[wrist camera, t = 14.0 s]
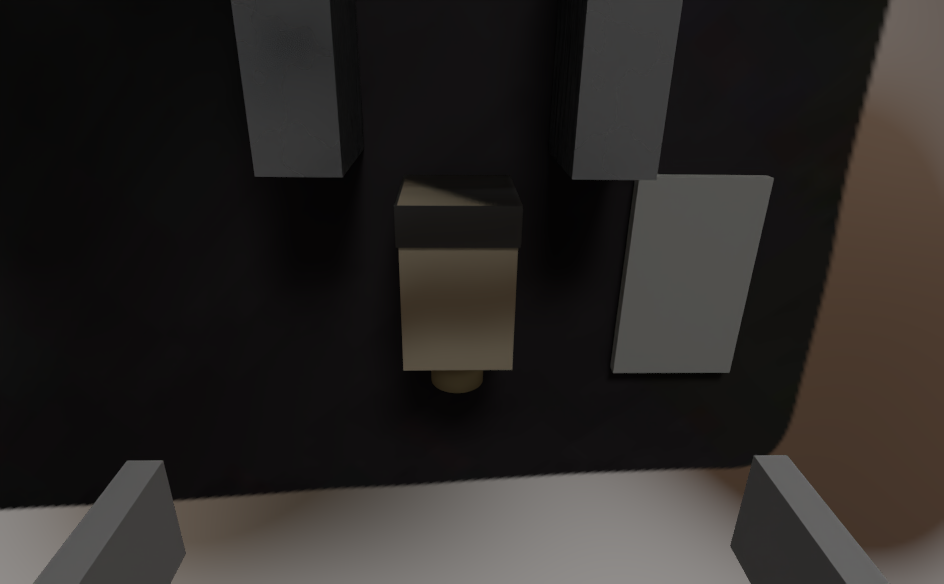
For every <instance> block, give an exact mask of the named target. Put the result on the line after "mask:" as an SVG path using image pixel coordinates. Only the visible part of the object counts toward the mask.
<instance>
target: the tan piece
mask: <svg viewBox="0 0 944 584" xmlns="http://www.w3.org/2000/svg"><path fill="white" fill-rule="evenodd" d="M522 217H523V205H522V203H521V201H520V198H519V196H518V193H517V191H516V189H515V186H514V184H513V181H512V179H511V177H510V175H404V177H403V180H402V183H401V186H400V189H399V192H398V195H397V198H396V201H395V204H394V222H395V246H396V248H399V272H400V297H401V321H402V346H403V371H406V370H431V379H432V383H433V385H434V386H435V387H437V388H438V389H440V390H442V391H445V392H450V393H464V392H469V391H472V390H474V389H476V388H478V387H479V386H480V385H481V383H482V381H483V370H512V361H513V340H514V320H515V299H516V278H517V258H518V248H521V237H522Z"/></svg>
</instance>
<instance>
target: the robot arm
mask: <svg viewBox="0 0 944 584" xmlns="http://www.w3.org/2000/svg"><path fill="white" fill-rule="evenodd" d="M730 546H731V548H732V550H733V552H734V553H735V555H736V557H737V559H738V561H739V563H740V565H741V566H742V568H743V570H744V572H745V574H746V576H747V577H748V579H749V581H750V583H751V584H890V583H889V582H888V581H887V579H886V578H885V577H884V576H883V574H882V573H881V572H880V570H879V569H878V568H877V567H876V565H875V564H874V563H873V562H872V561H871V559H870V558H869V557H868V556H867V554H866V553H865V552H864V550H863V549H862V548H861V547H860V545H859V544H858V543H857V542H856V541H855V539H854V538H853V537H852V536H851V534H850V533H849V532H848V531H847V529H846V528H845V527H844V526H843V524H842V523H841V522H840V521H839V519H838V518H837V517H836V516H835V514H834V513H833V512H832V511H831V509H830V508H829V507H828V506H827V504H826V503H825V502H824V501H823V500H822V498H821V497H820V496H819V494H818V493H817V492H816V491H815V489H814V488H813V487H812V486H811V484H810V483H809V482H808V481H807V479H806V478H805V477H804V476H803V474H802V473H801V472H800V471H799V470H798V469H797V467H796V466H795V465H794V463H793V462H792V461H791V460H790V459H789V457H788V456H787V455H765V456H754V457H753V461H752V465H751V469H750V473H749V476H748V480H747V484H746V488H745V492H744V496H743V500H742V503H741V507H740V511H739V515H738V518H737V522H736V526H735V530H734V534H733V538H732V541H731V545H730ZM185 554H186V552H185V548H184V544H183V540H182V536H181V532H180V528H179V524H178V520H177V516H176V511H175V507H174V503H173V499H172V495H171V491H170V487H169V483H168V479H167V475H166V471H165V467H164V462H163V460H152V461H127V462H126V463H125V464H124V465H123V467H122V468H121V469H120V471H119V472H118V473H117V475H116V476H115V477H114V479H113V480H112V481H111V482H110V484H109V485H108V486H107V488H106V489H105V490H104V492H103V493H102V494H101V495H100V497H99V498H98V499H97V501H96V502H95V503H94V505H93V506H92V507H91V509H90V510H89V511H88V513H87V514H86V515H85V516H84V518H83V519H82V521H81V522H80V523H79V524H78V526H77V527H76V528H75V529H74V531H73V532H72V533H71V535H70V536H69V538H68V539H67V540H66V541H65V542H64V544H63V545H62V546H61V548H60V549H59V550H58V552H57V553H56V554H55V556H54V557H53V558H52V559H51V561H50V562H49V564H48V565H47V566H46V567H45V569H44V570H43V571H42V573H41V574H40V575H39V576H38V578H37V579H36V580H35V582H34V583H33V584H170V583H171V581H172V579H173V577H174V575H175V574H176V571H177V570H178V568H179V566H180V563H181V562H182V560H183V558H184V556H185Z"/></svg>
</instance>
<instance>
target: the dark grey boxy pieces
mask: <svg viewBox="0 0 944 584" xmlns="http://www.w3.org/2000/svg"><path fill="white" fill-rule="evenodd" d="M682 2H683V0H558V14H557V29H556V43H555V58H554V72H553V87H552V101H551V116H550V130H549V145H548V151H549V152H550V153H551V155H552V156H553V157H554V158H555V160H556V161H557V162H558V163H559V164H560V166H561V167H562V168H563V169H564V170H565V172H566V173H567V174H568V175H569V176H570V178H571V179H572V180H656V179H657V172H658V166H659V159H660V152H661V145H662V138H663V132H664V125H665V118H666V111H667V104H668V97H669V91H670V84H671V77H672V70H673V63H674V57H675V50H676V43H677V36H678V29H679V22H680V16H681V9H682ZM231 5H232V13H233V20H234V27H235V35H236V42H237V50H238V57H239V64H240V72H241V79H242V86H243V94H244V101H245V108H246V116H247V123H248V131H249V138H250V145H251V153H252V160H253V167H254V175H255V177H343V176H344V175H345V174H346V172H347V171H348V170H349V168H350V167H351V166H352V164H353V163H354V162H355V160H356V159H357V157H358V156H359V155H360V153H361V152H362V151H363V149H364V138H363V120H362V103H361V86H360V69H359V51H358V34H357V17H356V0H231Z"/></svg>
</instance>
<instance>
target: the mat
mask: <svg viewBox="0 0 944 584" xmlns="http://www.w3.org/2000/svg"><path fill="white" fill-rule="evenodd" d="M773 180H774V178H772V177H769V176H767V175H668V174H657V179H656V180H635V182H634V189H633V197H632V205H631V212H630V220H629V227H628V235H627V243H626V250H625V258H624V266H623V273H622V281H621V288H620V296H619V304H618V311H617V319H616V326H615V334H614V342H613V349H612V357H611V364H610V367H611V370H612V372H613V373H729V372H730V368H731V363H732V359H733V354H734V350H735V346H736V341H737V337H738V333H739V328H740V324H741V320H742V315H743V311H744V306H745V302H746V298H747V293H748V289H749V285H750V280H751V276H752V271H753V267H754V263H755V258H756V254H757V250H758V245H759V241H760V237H761V232H762V228H763V223H764V219H765V215H766V210H767V206H768V202H769V197H770V193H771V188H772V184H773Z"/></svg>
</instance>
